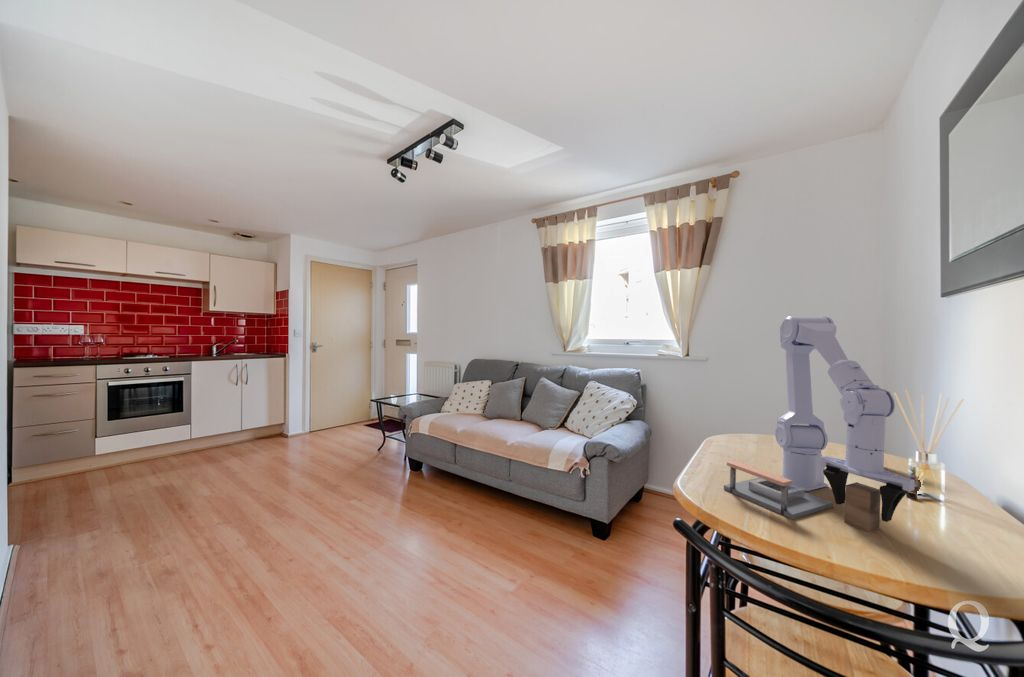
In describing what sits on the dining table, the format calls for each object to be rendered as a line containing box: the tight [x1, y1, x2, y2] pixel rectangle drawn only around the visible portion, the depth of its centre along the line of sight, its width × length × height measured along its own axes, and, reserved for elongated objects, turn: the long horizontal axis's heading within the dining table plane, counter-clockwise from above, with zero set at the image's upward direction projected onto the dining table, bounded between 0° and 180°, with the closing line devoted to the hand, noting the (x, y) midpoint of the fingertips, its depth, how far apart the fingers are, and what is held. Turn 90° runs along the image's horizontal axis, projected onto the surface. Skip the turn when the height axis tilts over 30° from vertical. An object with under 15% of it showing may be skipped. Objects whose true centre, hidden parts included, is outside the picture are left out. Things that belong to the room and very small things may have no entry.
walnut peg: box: [844, 481, 882, 533], centre depth 77 cm, size 4×4×8 cm
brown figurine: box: [905, 476, 921, 501], centre depth 92 cm, size 2×8×4 cm, turn 119°
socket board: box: [723, 460, 834, 520], centre depth 90 cm, size 16×16×8 cm
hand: (862, 511), depth 77 cm, fingers open, 7 cm apart
